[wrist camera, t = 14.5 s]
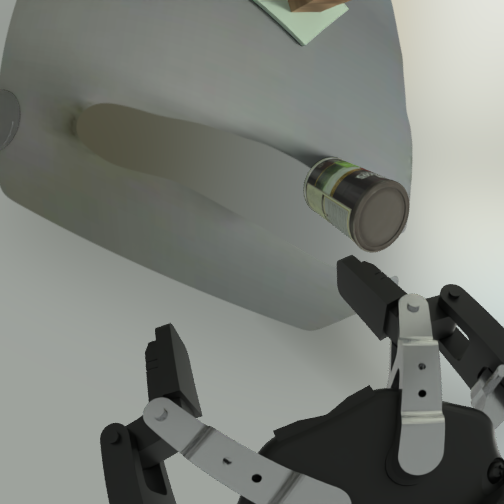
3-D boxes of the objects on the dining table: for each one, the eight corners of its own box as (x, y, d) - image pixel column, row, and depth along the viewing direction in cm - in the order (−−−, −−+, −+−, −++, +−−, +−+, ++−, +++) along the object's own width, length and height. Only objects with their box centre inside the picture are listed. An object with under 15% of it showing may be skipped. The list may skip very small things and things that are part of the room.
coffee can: (311, 150, 42) (369, 172, 30) (360, 164, 46) (418, 189, 34) (295, 210, 46) (343, 250, 34) (343, 218, 50) (393, 254, 38)
